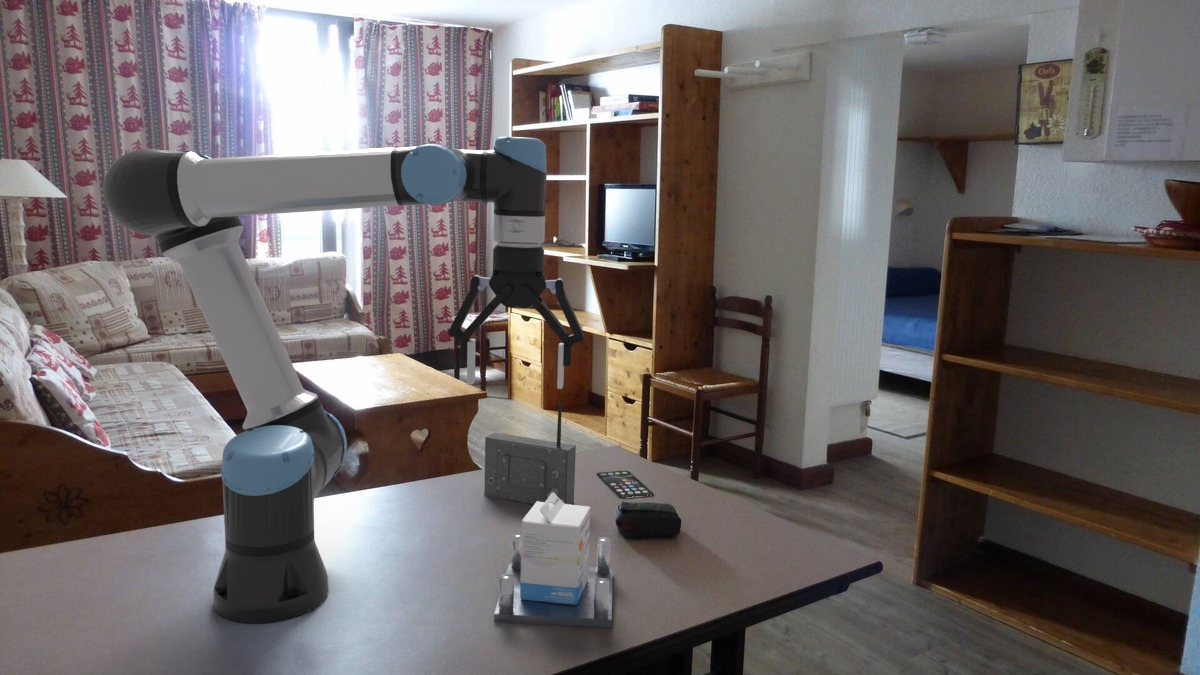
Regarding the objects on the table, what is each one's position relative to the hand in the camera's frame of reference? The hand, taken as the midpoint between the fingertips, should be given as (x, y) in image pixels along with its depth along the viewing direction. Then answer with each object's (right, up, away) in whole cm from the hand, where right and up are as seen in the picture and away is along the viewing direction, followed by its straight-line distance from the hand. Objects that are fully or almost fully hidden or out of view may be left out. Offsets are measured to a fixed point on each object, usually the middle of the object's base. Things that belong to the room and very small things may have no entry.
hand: (515, 385), depth 131 cm
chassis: (+7, -30, -6) cm, 32 cm away
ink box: (+6, -29, -6) cm, 31 cm away
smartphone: (+18, -23, +42) cm, 51 cm away
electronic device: (-1, -24, +31) cm, 39 cm away
